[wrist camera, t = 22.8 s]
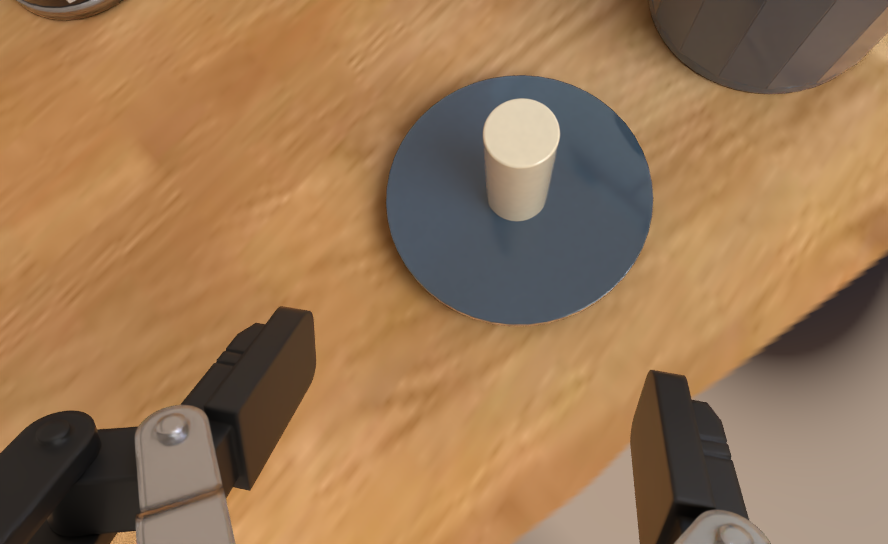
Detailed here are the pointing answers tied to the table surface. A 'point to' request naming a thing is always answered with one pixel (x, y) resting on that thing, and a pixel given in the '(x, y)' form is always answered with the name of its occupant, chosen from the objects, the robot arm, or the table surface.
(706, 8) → the blue handleless cup
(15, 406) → the table surface
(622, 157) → the lid
